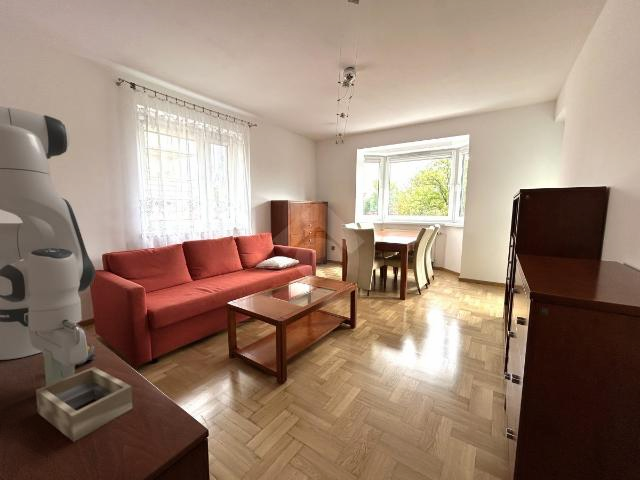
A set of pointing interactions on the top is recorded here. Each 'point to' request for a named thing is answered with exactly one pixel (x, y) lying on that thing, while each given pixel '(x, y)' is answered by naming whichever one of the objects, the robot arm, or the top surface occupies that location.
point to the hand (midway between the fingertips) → (60, 372)
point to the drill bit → (89, 354)
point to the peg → (52, 368)
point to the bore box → (83, 402)
